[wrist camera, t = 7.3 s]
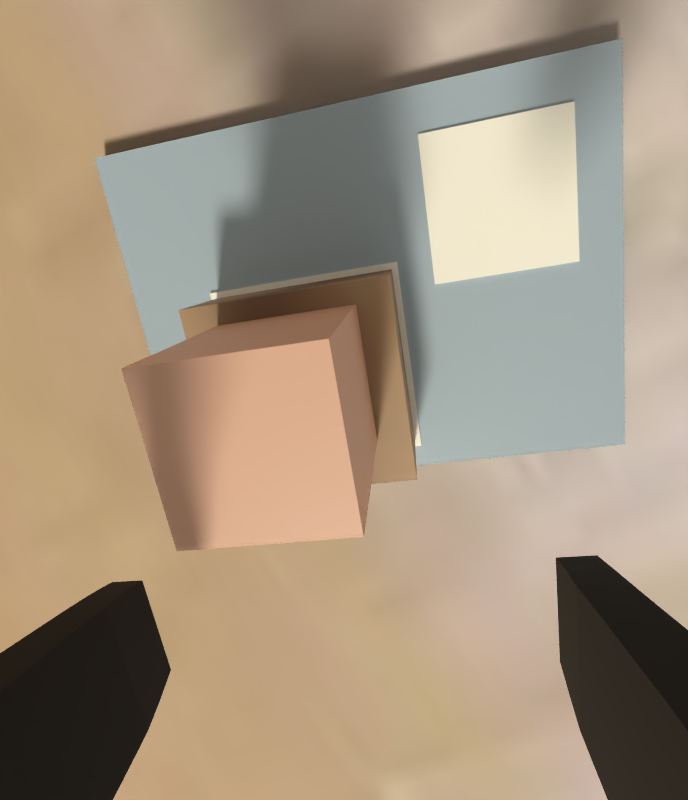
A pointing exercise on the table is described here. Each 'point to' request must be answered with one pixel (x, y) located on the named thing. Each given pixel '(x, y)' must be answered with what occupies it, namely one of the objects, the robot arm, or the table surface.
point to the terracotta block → (260, 430)
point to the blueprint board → (420, 239)
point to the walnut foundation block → (377, 339)
